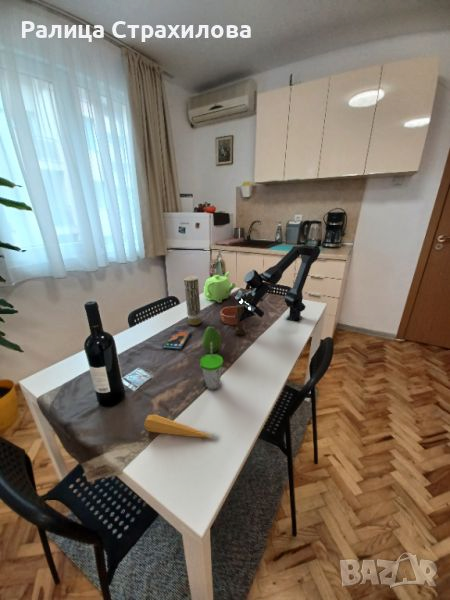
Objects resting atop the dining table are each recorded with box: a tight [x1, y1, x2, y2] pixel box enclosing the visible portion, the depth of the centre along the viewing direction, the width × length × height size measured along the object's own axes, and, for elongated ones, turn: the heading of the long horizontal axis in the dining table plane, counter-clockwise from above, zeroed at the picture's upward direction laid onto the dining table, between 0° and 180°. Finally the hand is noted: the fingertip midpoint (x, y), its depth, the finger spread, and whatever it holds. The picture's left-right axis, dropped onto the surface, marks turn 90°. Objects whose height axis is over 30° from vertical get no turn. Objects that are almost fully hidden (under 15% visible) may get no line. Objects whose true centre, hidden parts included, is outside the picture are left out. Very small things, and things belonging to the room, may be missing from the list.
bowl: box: [220, 305, 246, 326], centre depth 127 cm, size 13×13×5 cm
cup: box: [199, 342, 224, 391], centre depth 80 cm, size 8×8×15 cm
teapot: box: [203, 271, 237, 303], centre depth 154 cm, size 25×22×16 cm
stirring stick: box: [235, 304, 246, 335], centre depth 112 cm, size 4×4×14 cm
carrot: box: [143, 414, 215, 439], centre depth 65 cm, size 20×4×4 cm, turn 78°
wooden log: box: [183, 275, 202, 326], centre depth 121 cm, size 7×7×25 cm
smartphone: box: [163, 329, 192, 350], centre depth 111 cm, size 8×1×15 cm
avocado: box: [201, 325, 222, 354], centre depth 100 cm, size 8×8×12 cm
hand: (237, 319), depth 111 cm, fingers closed on stirring stick, 3 cm apart
